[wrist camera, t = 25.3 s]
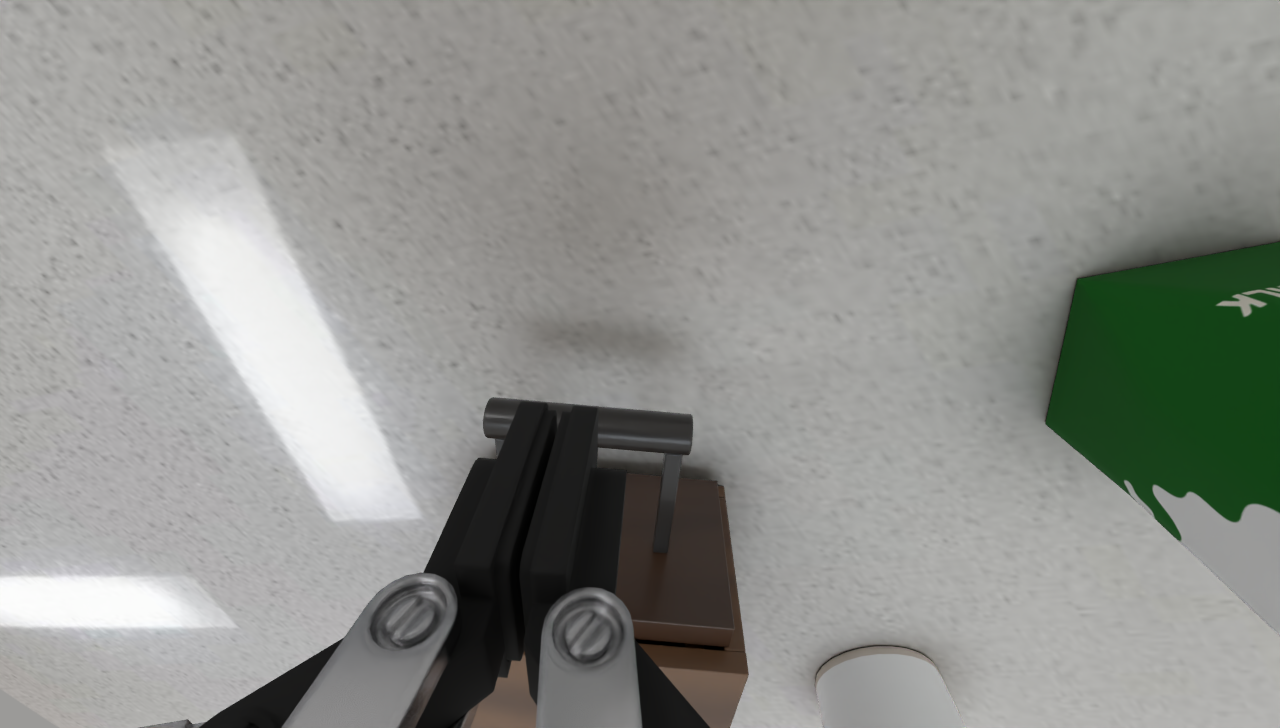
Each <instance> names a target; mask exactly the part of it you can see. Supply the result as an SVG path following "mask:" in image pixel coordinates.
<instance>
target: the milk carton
mask: <svg viewBox="0 0 1280 728" xmlns="http://www.w3.org/2000/svg"><path fill="white" fill-rule="evenodd" d="M1045 424H1046V425H1047V426H1048V427H1049V428H1051V429H1052V430H1053V431H1054V432H1055V433H1057V434H1058V435H1059V436H1060V437H1061V438H1062V439H1064V440H1065V441H1066V442H1067V443H1068V444H1070V445H1071V446H1072V447H1073V448H1074V449H1076V450H1077V451H1078V452H1079V453H1080V454H1082V455H1083V456H1084V457H1085V458H1086V459H1087V460H1089V461H1090V462H1091V463H1092V464H1093V465H1095V466H1096V467H1097V468H1098V469H1099V470H1100V471H1102V472H1103V473H1104V474H1105V475H1106V476H1108V477H1109V478H1110V479H1111V480H1112V481H1114V482H1115V483H1116V484H1117V485H1118V486H1119V487H1121V488H1122V489H1123V490H1124V491H1125V492H1126V493H1128V494H1129V495H1130V496H1131V497H1132V498H1133V499H1134V500H1135V501H1136V502H1138V503H1139V504H1140V505H1141V506H1142V507H1143V508H1144V509H1145V510H1146V511H1147V512H1148V513H1149V514H1150V515H1151V516H1153V517H1154V518H1155V519H1156V520H1157V521H1158V522H1159V523H1160V524H1161V525H1162V526H1163V527H1164V528H1165V529H1166V530H1167V531H1169V532H1170V533H1171V534H1172V535H1173V536H1174V537H1175V538H1176V539H1177V540H1178V541H1179V542H1180V543H1181V544H1182V545H1183V546H1185V547H1186V548H1187V549H1188V550H1189V551H1190V552H1191V553H1192V554H1193V555H1194V556H1195V557H1196V558H1197V559H1198V560H1199V561H1200V562H1202V563H1203V564H1204V565H1205V566H1206V567H1207V568H1208V569H1209V570H1210V571H1211V572H1212V573H1213V574H1214V575H1215V576H1216V577H1218V578H1219V579H1220V580H1221V581H1222V582H1223V583H1224V584H1225V585H1226V586H1227V587H1228V588H1229V589H1230V590H1231V591H1232V592H1234V593H1235V594H1236V595H1237V596H1238V597H1239V598H1240V599H1241V600H1242V601H1243V602H1244V603H1245V604H1246V605H1247V606H1248V607H1250V608H1251V609H1252V610H1253V611H1254V612H1255V613H1256V614H1257V615H1258V616H1259V617H1260V618H1261V619H1262V620H1263V621H1264V622H1265V623H1267V624H1268V625H1269V626H1270V627H1271V628H1272V629H1273V630H1274V631H1275V632H1276V633H1277V634H1278V635H1279V636H1280V242H1277V243H1271V244H1266V245H1260V246H1255V247H1249V248H1244V249H1239V250H1233V251H1228V252H1222V253H1217V254H1211V255H1206V256H1200V257H1195V258H1189V259H1184V260H1179V261H1173V262H1168V263H1162V264H1157V265H1151V266H1146V267H1140V268H1135V269H1129V270H1124V271H1119V272H1113V273H1108V274H1102V275H1097V276H1091V277H1086V278H1080V279H1078V280H1077V284H1076V288H1075V293H1074V297H1073V302H1072V306H1071V311H1070V315H1069V320H1068V324H1067V329H1066V333H1065V338H1064V342H1063V346H1062V351H1061V355H1060V360H1059V364H1058V369H1057V373H1056V378H1055V382H1054V387H1053V391H1052V396H1051V400H1050V405H1049V409H1048V414H1047V418H1046V423H1045Z"/></svg>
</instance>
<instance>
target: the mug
mask: <svg viewBox="0 0 1280 728" xmlns="http://www.w3.org/2000/svg"><path fill="white" fill-rule="evenodd" d="M815 688H816V693H817V698H818V703H819V709H820V714H821V719H822V724H823V728H967V727H966V725H965V723H964V721H963V719H962V717H961V715H960V713H959V711H958V709H957V707H956V705H955V703H954V701H953V699H952V697H951V695H950V693H949V691H948V689H947V687H946V685H945V683H944V681H943V679H942V677H941V675H940V672H939V670H938V669H937V667H936V666H935V664H934V663H933V662H932V661H931V660H930V659H928V658H927V657H925V656H924V655H922V654H921V653H919V652H916V651H913V650H910V649H907V648H901V647H894V646H874V647H867V648H859V649H856V650H852V651H849V652H846V653H843V654H841V655H839V656H837V657H835V658H833V659H831V660H830V661H828V662H827V663H826V664H825V665H823V666H822V668H821V669H820V671H819V672H818V673H817V677H816V682H815Z"/></svg>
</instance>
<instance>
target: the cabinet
mask: <svg viewBox="0 0 1280 728" xmlns="http://www.w3.org/2000/svg"><path fill="white" fill-rule="evenodd" d="M718 492H719V500H720V509H721V517H722V526H723V534H724V543H725V552H726V560H727V569H728V577H729V586H730V594H731V603H732V611H733V620H734V628H735V629H734V632H733V635H732V639H731V642H730V645H729V647H722V646H710V645H704V649H698V648H687V647H675V646H664V645H653V644H642V643H638V644H639V645H640V646H641V647H642V648H643V650H644V651H645V652H646V653H647V654H648V655H649V657H650V658H651V659H652V660H653V661H654V662H655V664H656V665H657V666H658V667H659V668H660V669H661V671H662V672H663V673H664V674H665V675H666V676H667V678H668V679H669V680H670V681H671V682H672V683H673V685H674V686H675V687H676V688H677V689H678V690H679V692H680V693H681V694H682V695H683V696H684V697H685V699H686V700H687V701H688V702H689V703H690V705H691V706H692V707H693V708H694V709H695V710H696V712H697V713H698V714H699V715H700V716H701V717H702V719H703V720H704V721H705V722H706V723H707V724H708V726H709V727H710V728H730V726H731V723H732V720H733V717H734V714H735V712H736V709H737V706H738V703H739V700H740V698H741V695H742V692H743V689H744V686H745V684H746V681H747V678H748V675H749V673H748V666H747V658H746V653H745V644H744V637H743V629H742V621H741V614H740V606H739V599H738V591H737V583H736V576H735V568H734V560H733V553H732V545H731V538H730V530H729V522H728V515H727V507H726V500H725V492H724V487H723V486H718ZM536 715H537V705H536V703H535V702H534V700H533V699H532V697H531V696H530V693H529V684H528V676H527V667H526V658H525V650H524V653H523V657H522V659H521V661H512V662H511V666H510V670H509V674H508V678H501V677H498V678H497V681H496V685H495V689H494V692H492V693H491V694H490V695H489V696H487V697H486V698H485V699H483V700H482V701H481V702H480V703H479V704H478V708H477V712H476V715H475V718H474V720H473V722H472V725H471V727H470V728H536Z"/></svg>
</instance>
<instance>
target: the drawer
mask: <svg viewBox="0 0 1280 728" xmlns="http://www.w3.org/2000/svg"><path fill="white" fill-rule="evenodd" d="M521 401H529V400H517V399H506V398H494V397H493V398H490V399H489V401H488V403H487V405H486V408H485V412H484V419H483V429H484V434H485V436H486V437H487V438H495V443H496V453H497V457H498V455H499V452H500V450H501V447H502V445H503V443H504V440H505V438H506V435H507V433H508V430H509V428H510V425H511V423H512V421H513V418H514V416H515V413H516V411H517V408H518V406H519V404H520V402H521ZM531 402H541V401H531ZM543 403H547V404H548V410H556V412H557V429H558V426H559V422H560V419H561V415H562V412H563V411H572V407H573V405H575V404H564V403H552V402H543ZM578 406H587V405H578ZM590 407H598V409H599V417H598V447H600V448H611V449H623V450H634V451H646V452H657V453H664V460H663V468H662V476H654V475H643V474H631V473H627V476H626V489H625V501H624V513H623V525H622V535H621V546H620V557H619V567H618V578H617V589H616V596H617V597H618V598H619V599H620V600H622V601H623V603H624V604H625V606H626V607H627V609H628V611H629V612H630V615H631V619H632V623H633V629H634V639H635V640H636V641H637V642H638V643H642V644H653V645H664V646H675V647H687V648H698V649H704V645H710V646H722V647H729V645H730V642H731V639H732V635H733V632H734V629H735V628H734V620H733V611H732V603H731V594H730V586H729V577H728V569H727V560H726V552H725V543H724V534H723V526H722V517H721V509H720V500H719V492H718V483H717V481H712V480H701V479H689V478H679V475H680V468H681V462H682V455H689V454H690V451H691V446H692V437H693V417H692V415H691V414H680V413H668V412H657V411H645V410H633V409H622V408H610V407H599V406H590Z"/></svg>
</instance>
